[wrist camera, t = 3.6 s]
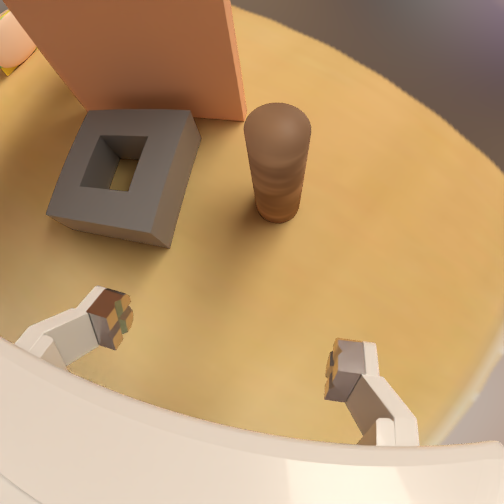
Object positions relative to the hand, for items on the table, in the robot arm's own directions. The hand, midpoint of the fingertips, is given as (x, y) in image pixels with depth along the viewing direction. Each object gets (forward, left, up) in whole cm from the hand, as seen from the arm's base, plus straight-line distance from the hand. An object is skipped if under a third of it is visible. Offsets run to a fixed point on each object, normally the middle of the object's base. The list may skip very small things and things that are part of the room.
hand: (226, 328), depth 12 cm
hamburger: (-26, +61, -16) cm, 68 cm away
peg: (+6, +10, -16) cm, 20 cm away
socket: (-7, +18, -16) cm, 25 cm away
